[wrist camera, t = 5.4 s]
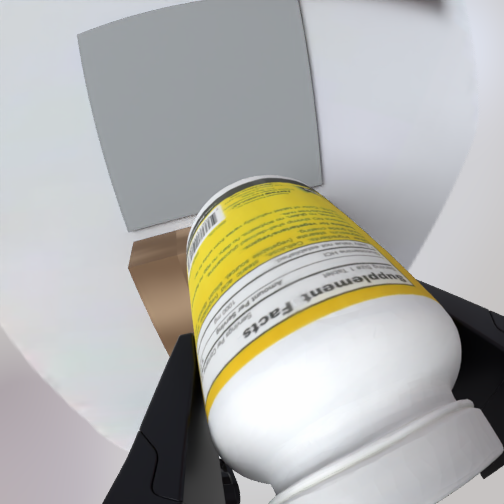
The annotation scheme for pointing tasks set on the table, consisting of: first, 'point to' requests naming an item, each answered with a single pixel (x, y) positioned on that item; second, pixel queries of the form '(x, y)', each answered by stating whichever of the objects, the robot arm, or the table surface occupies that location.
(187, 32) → the slate mat
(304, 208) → the pill bottle
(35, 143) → the table surface
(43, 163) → the table surface
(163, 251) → the holder block
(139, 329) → the table surface
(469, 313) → the robot arm
